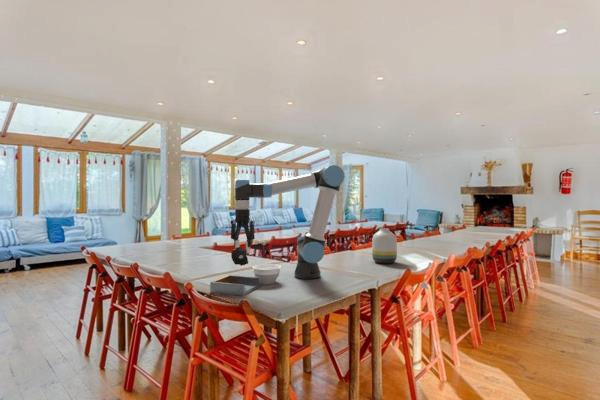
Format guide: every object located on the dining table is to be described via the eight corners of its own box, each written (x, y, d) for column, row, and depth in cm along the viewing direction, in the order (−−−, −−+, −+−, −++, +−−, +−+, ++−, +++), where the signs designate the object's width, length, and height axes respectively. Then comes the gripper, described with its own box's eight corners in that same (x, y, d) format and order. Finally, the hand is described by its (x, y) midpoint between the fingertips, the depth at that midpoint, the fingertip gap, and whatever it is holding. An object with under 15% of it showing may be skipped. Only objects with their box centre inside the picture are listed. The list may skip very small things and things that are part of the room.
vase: (372, 264, 238) (372, 229, 238) (371, 260, 254) (371, 227, 254) (398, 265, 235) (398, 229, 235) (395, 260, 252) (395, 227, 252)
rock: (232, 249, 184) (228, 245, 175) (247, 246, 185) (244, 242, 175) (235, 269, 181) (232, 266, 172) (250, 266, 181) (247, 263, 172)
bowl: (256, 287, 177) (256, 270, 177) (248, 280, 191) (248, 265, 191) (286, 284, 183) (285, 268, 183) (275, 278, 198) (275, 263, 198)
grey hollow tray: (259, 287, 177) (259, 277, 177) (243, 295, 161) (243, 285, 161) (229, 284, 183) (229, 274, 183) (210, 292, 167) (210, 282, 167)
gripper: (261, 208, 183) (261, 252, 183) (231, 208, 190) (231, 250, 190) (254, 209, 176) (254, 254, 176) (223, 208, 183) (223, 252, 183)
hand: (242, 252), depth 183 cm, fingers closed on rock, 6 cm apart
